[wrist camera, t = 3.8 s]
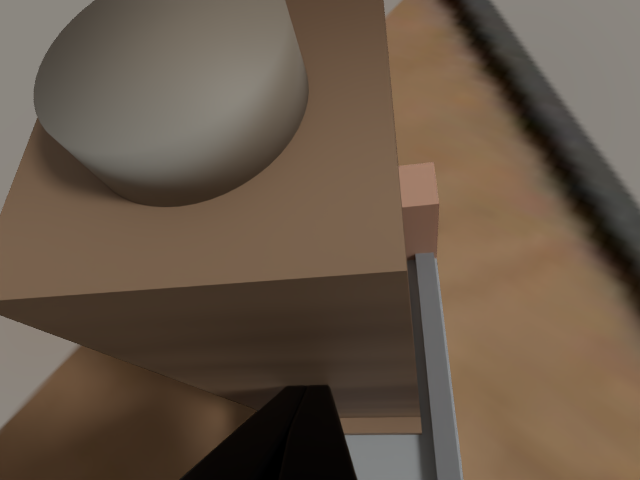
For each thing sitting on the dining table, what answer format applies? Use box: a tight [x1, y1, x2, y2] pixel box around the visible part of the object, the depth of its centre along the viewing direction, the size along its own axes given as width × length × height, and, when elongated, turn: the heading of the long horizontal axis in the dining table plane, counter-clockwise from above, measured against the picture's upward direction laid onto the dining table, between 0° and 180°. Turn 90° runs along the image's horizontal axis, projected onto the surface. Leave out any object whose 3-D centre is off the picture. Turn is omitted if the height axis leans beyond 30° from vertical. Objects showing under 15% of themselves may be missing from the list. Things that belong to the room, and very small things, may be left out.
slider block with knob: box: [0, 0, 422, 435], centre depth 9 cm, size 5×4×12 cm
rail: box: [257, 162, 463, 480], centre depth 13 cm, size 13×6×5 cm, turn 0°
